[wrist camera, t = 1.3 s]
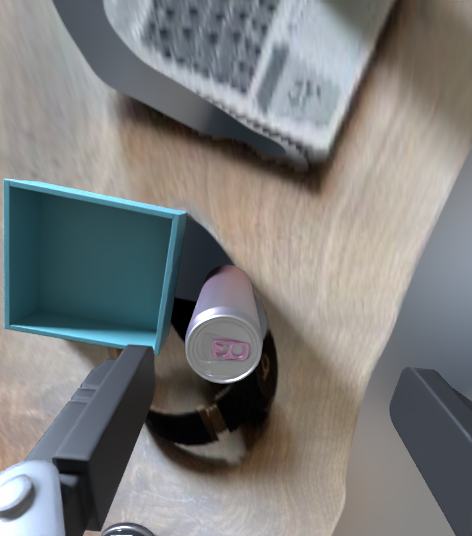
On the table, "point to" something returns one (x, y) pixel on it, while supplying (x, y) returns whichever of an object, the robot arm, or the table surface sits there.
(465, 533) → the robot arm
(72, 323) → the box
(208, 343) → the beverage can
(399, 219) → the table surface
